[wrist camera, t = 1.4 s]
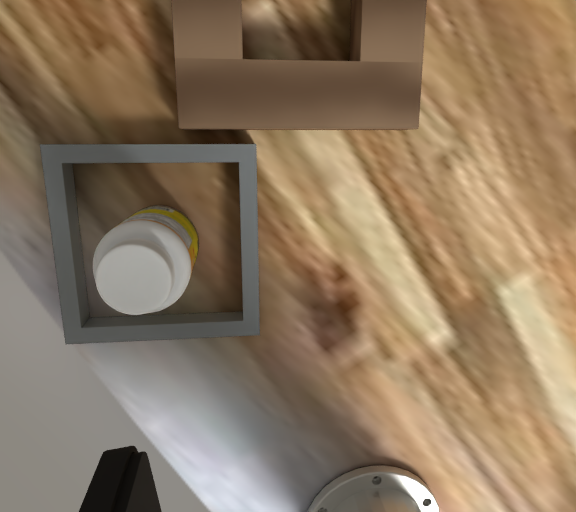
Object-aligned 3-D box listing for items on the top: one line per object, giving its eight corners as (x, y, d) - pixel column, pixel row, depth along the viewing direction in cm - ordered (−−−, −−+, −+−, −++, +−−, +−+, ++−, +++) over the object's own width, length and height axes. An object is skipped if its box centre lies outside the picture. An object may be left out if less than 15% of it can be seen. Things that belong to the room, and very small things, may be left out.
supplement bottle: (161, 291, 35) (133, 349, 25) (107, 238, 33) (53, 278, 23) (216, 243, 34) (208, 283, 24) (163, 187, 33) (132, 206, 23)
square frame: (258, 324, 36) (259, 335, 34) (75, 333, 35) (65, 344, 33) (254, 144, 33) (256, 144, 31) (51, 144, 31) (40, 144, 29)
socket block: (402, 129, 34) (418, 128, 31) (183, 129, 32) (178, 128, 29) (416, -122, 30) (436, -150, 27) (169, -137, 28) (161, -170, 25)
